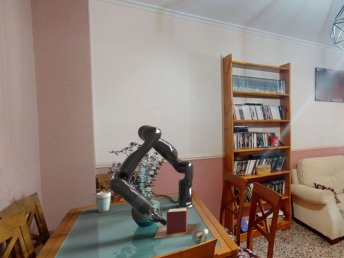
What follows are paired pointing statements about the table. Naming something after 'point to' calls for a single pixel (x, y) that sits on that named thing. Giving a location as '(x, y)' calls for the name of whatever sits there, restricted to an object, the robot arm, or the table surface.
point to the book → (176, 220)
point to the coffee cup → (103, 201)
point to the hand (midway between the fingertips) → (166, 224)
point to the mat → (162, 233)
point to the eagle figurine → (200, 235)
